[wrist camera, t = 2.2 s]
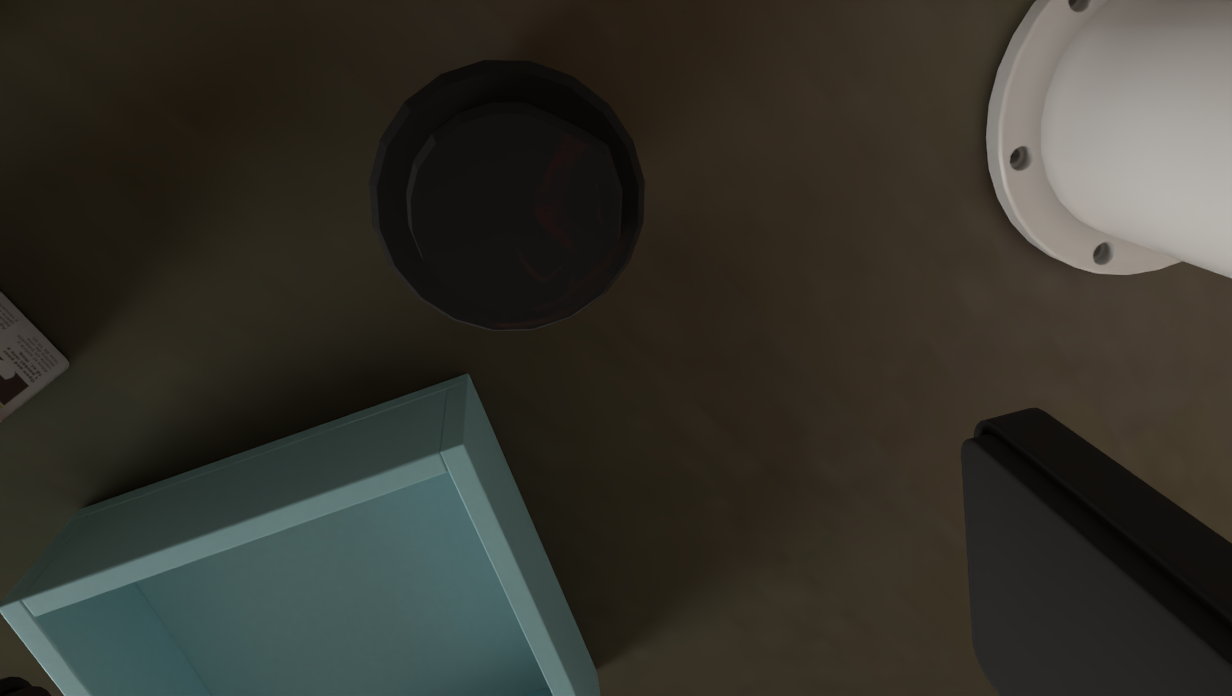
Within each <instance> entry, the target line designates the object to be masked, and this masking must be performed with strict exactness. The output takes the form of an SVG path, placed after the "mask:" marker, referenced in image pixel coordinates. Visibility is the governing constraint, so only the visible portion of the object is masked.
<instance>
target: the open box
mask: <svg viewBox="0 0 1232 696" xmlns="http://www.w3.org/2000/svg"><path fill="white" fill-rule="evenodd" d="M0 613H1V614H2V615H3V617H4V618H5V619H6V620H7V622H8V623H9V624H10V626H11V627H12V628H13V629H14V631H15V632H16V633H17V635H18V636H19V637H20V639H21V640H22V641H23V642H24V644H25V645H26V646H27V648H28V649H29V650H30V651H31V653H32V654H33V655H34V657H35V658H36V659H37V661H38V662H39V663H40V664H41V666H42V667H43V668H44V670H45V671H46V672H47V673H48V675H49V676H50V677H51V679H52V680H53V681H54V683H55V684H56V685H57V686H58V688H59V689H60V690H61V692H62V693H63V694H64V695H65V696H600V689H599V684H598V676H597V671H596V669H595V666H594V664H593V662H592V659H591V657H590V655H589V652H588V650H587V648H586V645H585V643H584V641H583V638H582V636H581V634H580V631H579V629H578V627H577V624H576V622H575V620H574V617H573V615H572V613H571V610H570V608H569V606H568V603H567V601H566V599H565V596H564V594H563V592H562V589H561V587H560V585H559V583H558V580H557V578H556V576H555V573H554V571H553V569H552V566H551V564H550V562H549V559H548V557H547V555H546V552H545V550H544V548H543V545H542V543H541V541H540V538H539V536H538V534H537V531H536V529H535V527H534V524H533V522H532V520H531V517H530V515H529V513H528V510H527V508H526V506H525V503H524V501H523V499H522V496H521V494H520V492H519V489H518V487H517V485H516V482H515V480H514V478H513V476H512V473H511V471H510V469H509V466H508V464H507V462H506V459H505V457H504V455H503V452H502V450H501V448H500V445H499V443H498V441H497V438H496V436H495V434H494V431H493V429H492V427H491V424H490V422H489V420H488V417H487V415H486V413H485V410H484V408H483V406H482V403H481V401H480V399H479V396H478V394H477V392H476V389H475V387H474V385H473V382H472V380H471V378H470V375H469V374H465V375H462V376H459V377H456V378H453V379H450V380H447V381H445V382H442V383H439V384H436V385H433V386H430V387H427V388H425V389H422V390H419V391H416V392H413V393H410V394H407V395H405V396H402V397H399V398H396V399H393V400H390V401H388V402H385V403H382V404H379V405H376V406H373V407H370V408H368V409H365V410H362V411H359V412H356V413H353V414H350V415H348V416H345V417H342V418H339V419H336V420H333V421H330V422H328V423H325V424H322V425H319V426H316V427H313V428H310V429H308V430H305V431H302V432H299V433H296V434H293V435H291V436H288V437H285V438H282V439H279V440H276V441H273V442H271V443H268V444H265V445H262V446H259V447H256V448H253V449H251V450H248V451H245V452H242V453H239V454H236V455H233V456H231V457H228V458H225V459H222V460H219V461H216V462H213V463H211V464H208V465H205V466H202V467H199V468H196V469H193V470H191V471H188V472H185V473H182V474H179V475H176V476H174V477H171V478H168V479H165V480H162V481H159V482H156V483H154V484H151V485H148V486H145V487H142V488H139V489H136V490H134V491H131V492H128V493H125V494H122V495H119V496H116V497H114V498H111V499H108V500H105V501H102V502H99V503H96V504H94V505H91V506H88V507H85V508H82V509H79V510H78V511H77V513H76V514H75V515H74V516H73V517H72V519H71V520H70V521H69V522H68V524H67V525H66V526H65V527H64V528H63V530H62V531H61V532H60V533H59V534H58V536H57V537H56V538H55V539H54V540H53V541H52V543H51V544H50V545H49V546H48V547H47V549H46V550H45V551H44V552H43V553H42V555H41V556H40V557H39V558H38V559H37V561H36V562H35V563H34V564H33V565H32V566H31V568H30V569H29V570H28V571H27V572H26V574H25V575H24V576H23V577H22V578H21V580H20V581H19V582H18V583H17V584H16V586H15V587H14V588H13V589H12V590H11V591H10V593H9V594H8V595H7V596H6V597H5V599H4V600H3V601H2V602H1V603H0Z"/></svg>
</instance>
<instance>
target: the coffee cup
mask: <svg viewBox="0 0 1232 696" xmlns="http://www.w3.org/2000/svg"><path fill="white" fill-rule="evenodd" d="M369 184H370V196H371V209H372V221H373V227H374V229H375V232H376V234H377V236H378V239H379V241H380V244H381V246H382V248H383V251H384V253H385V255H386V258H387V260H388V262H389V265H390V266H391V267H392V269H393V270H394V271H395V272H396V273H397V274H398V276H399V277H400V278H401V279H402V280H403V281H404V283H405V284H406V285H407V286H408V287H409V288H410V290H411V291H412V292H413V293H414V294H415V295H416V297H417V298H419V299H420V300H422V301H424V302H425V303H427V304H428V305H430V306H431V307H433V308H435V309H436V310H438V311H439V312H441V313H442V314H444V315H446V316H447V317H449V318H450V319H452V320H455V321H458V322H462V323H465V324H469V325H473V326H476V327H480V328H484V329H487V330H491V331H515V330H535V329H538V328H541V327H544V326H547V325H550V324H553V323H556V322H560V321H563V320H566V319H569V318H572V317H573V316H575V315H576V314H577V313H579V312H580V311H582V310H583V309H584V308H586V307H587V306H589V305H590V304H592V303H593V302H594V301H596V300H597V299H599V298H600V297H601V296H603V295H604V294H605V293H606V292H607V291H608V289H609V288H610V287H611V285H612V284H613V283H614V281H615V280H616V279H617V277H618V276H619V275H620V274H621V272H622V271H623V270H624V268H625V267H626V266H627V264H628V263H629V261H630V259H631V256H632V253H633V250H634V248H635V245H636V242H637V239H638V236H639V234H640V231H641V228H642V225H643V213H644V185H645V181H644V178H643V174H642V171H641V167H640V164H639V160H638V157H637V153H636V150H635V146H634V143H633V140H632V138H631V137H630V135H629V134H628V133H627V131H626V130H625V128H624V127H623V125H622V124H621V122H620V121H619V119H618V118H617V116H616V115H615V113H614V112H613V110H612V109H611V107H610V106H609V104H608V103H606V102H605V101H604V100H603V99H601V98H600V97H599V96H597V95H596V94H595V93H594V92H592V91H591V90H590V89H588V88H587V87H586V86H585V85H583V84H582V83H581V82H580V81H578V80H577V79H576V78H574V77H573V76H571V75H568V74H565V73H562V72H559V71H557V70H554V69H551V68H548V67H545V66H543V65H540V64H537V63H534V62H531V61H500V60H483V61H480V62H477V63H474V64H471V65H468V66H465V67H462V68H459V69H456V70H453V71H449V72H446V73H443V74H440V75H439V76H438V77H437V78H435V79H434V80H433V81H431V82H430V83H429V84H427V85H426V86H425V87H423V88H422V89H421V90H419V91H418V92H417V93H416V94H414V95H413V96H412V97H410V98H409V99H408V100H406V101H405V102H404V104H403V105H402V107H401V108H400V110H399V111H398V113H397V114H396V116H395V117H394V119H393V120H392V122H391V123H390V125H389V126H388V128H387V129H386V131H385V132H384V134H383V135H382V137H381V139H380V142H379V145H378V149H377V153H376V157H375V161H374V165H373V169H372V173H371V177H370V181H369Z"/></svg>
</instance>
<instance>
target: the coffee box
mask: <svg viewBox="0 0 1232 696" xmlns="http://www.w3.org/2000/svg"><path fill="white" fill-rule="evenodd" d="M68 367H69V362H68V360H67V359H66V358H65V357H64V356H63V355H62V354H61V353H60V352H59V351H58V350H57V349H56V348H55V347H54V346H53V345H52V344H51V343H50V341H49V340H48V339H47V338H46V337H45V336H44V335H43V334H42V333H41V332H40V331H39V330H38V329H37V328H36V327H35V326H34V325H33V324H32V323H31V322H30V321H29V320H28V319H27V318H26V317H25V316H24V315H23V314H22V313H21V312H20V311H19V310H18V309H17V308H16V307H15V306H14V305H13V304H12V303H11V302H10V301H9V300H8V298H7V297H6V296H5V295H4V294H3V293H2V292H1V291H0V423H1V422H2V421H3V420H5V419H6V418H7V417H8V416H10V415H11V414H12V413H13V412H14V411H16V410H17V409H18V408H19V407H21V406H22V405H23V404H24V403H26V402H27V401H28V400H29V399H30V398H32V397H33V396H34V395H35V394H37V393H38V392H39V391H41V390H42V389H43V388H44V387H46V386H47V385H48V384H49V383H51V382H52V381H53V380H54V379H55V378H57V377H58V376H59V375H60V374H62V373H63V372H64V371H66V370H67V369H68Z"/></svg>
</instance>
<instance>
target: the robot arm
mask: <svg viewBox="0 0 1232 696" xmlns="http://www.w3.org/2000/svg"><path fill="white" fill-rule="evenodd" d="M1068 1H1069V2H1068ZM986 145H987V156H988V166H989V172H990V175H991V178H992V182H993V185H994V189H995V192H996V195H997V198H998V200H999V202H1000V204H1001V205H1002V207H1003V209H1004V211H1005V213H1006V214H1007V216H1008V218H1009V220H1010V222H1011V223H1012V224H1013V225H1014V226H1015V227H1016V228H1017V230H1018V231H1019V232H1020V233H1021V234H1022V235H1023V236H1024V237H1025V238H1026V240H1027V241H1028V242H1030V243H1031V244H1032V245H1034V246H1035V247H1037V248H1038V249H1040V250H1041V251H1043V252H1044V253H1046V254H1047V255H1049V256H1050V257H1053V258H1055V259H1057V260H1060V261H1062V262H1064V263H1066V264H1069V265H1071V266H1073V267H1075V268H1079V269H1083V270H1086V271H1090V272H1093V273H1099V274H1120V275H1130V274H1136V273H1142V272H1149V271H1155V270H1159V269H1162V268H1164V267H1167V266H1170V265H1173V264H1176V263H1179V262H1182V261H1184V262H1187V263H1190V264H1193V265H1195V266H1198V267H1201V268H1204V269H1207V270H1209V271H1212V272H1215V273H1218V274H1221V275H1223V276H1226V277H1229V278H1232V0H1036V1H1035V2H1034V3H1033V5H1032V6H1031V8H1030V9H1029V11H1028V12H1027V14H1026V16H1025V17H1024V19H1023V20H1022V22H1021V23H1020V25H1019V27H1018V28H1017V30H1016V31H1015V33H1014V34H1013V36H1012V38H1011V41H1010V43H1009V45H1008V48H1007V50H1006V52H1005V54H1004V57H1003V59H1002V61H1001V64H1000V66H999V68H998V71H997V75H996V79H995V82H994V86H993V90H992V94H991V98H990V102H989V108H988V119H987V131H986ZM1012 153H1013V156H1012V158H1011V155H1012ZM1010 158H1011V159H1010ZM961 459H962V475H963V492H964V508H965V525H966V541H967V558H968V574H969V591H970V607H971V624H972V640H973V647H974V650H975V654H976V657H977V659H978V662H979V664H980V666H981V668H982V670H983V672H984V674H985V675H986V677H987V679H988V680H989V681H990V683H991V684H992V685H993V687H994V688H995V689H996V691H997V692H998V693H999V695H1000V696H1232V544H1231V543H1230V542H1229V541H1227V540H1226V539H1224V538H1223V537H1221V536H1220V535H1219V534H1217V533H1216V532H1214V531H1213V530H1212V529H1210V528H1209V527H1207V526H1206V525H1205V524H1203V523H1202V522H1200V521H1199V520H1197V519H1196V518H1195V517H1193V516H1192V515H1190V514H1189V513H1188V512H1186V511H1185V510H1183V509H1182V508H1180V507H1179V506H1178V505H1176V504H1175V503H1173V502H1172V501H1171V500H1169V499H1168V498H1166V497H1165V496H1164V495H1162V494H1161V493H1159V492H1158V491H1156V490H1155V489H1154V488H1152V487H1151V486H1149V485H1148V484H1147V483H1145V482H1144V481H1142V480H1141V479H1139V478H1138V477H1137V476H1135V475H1134V474H1132V473H1131V472H1130V471H1128V470H1127V469H1125V468H1124V467H1122V466H1121V465H1120V464H1118V463H1117V462H1115V461H1114V460H1113V459H1111V458H1110V457H1108V456H1107V455H1106V454H1104V453H1103V452H1101V451H1100V450H1098V449H1097V448H1096V447H1094V446H1093V445H1091V444H1090V443H1089V442H1087V441H1086V440H1084V439H1083V438H1081V437H1080V436H1079V435H1077V434H1076V433H1074V432H1073V431H1072V430H1070V429H1069V428H1067V427H1066V426H1065V425H1063V424H1062V423H1060V422H1059V421H1057V420H1056V419H1055V418H1053V417H1052V416H1050V415H1049V414H1048V413H1046V412H1045V411H1043V410H1040V409H1038V408H1029V409H1025V410H1021V411H1017V412H1013V413H1010V414H1006V415H1002V416H998V417H995V418H991V419H987V420H983V421H981V422H980V423H978V424H977V426H976V428H975V431H974V438H971V439H967V440H966V441H964V442H963V445H962V449H961ZM0 696H51V695H50V694H49V692H48V691H47V690H45V689H44V688H42V687H36V686H33V687H32V686H31V684H30V683H29V682H28V681H26V680H24V679H22V678H20V677H7V678H3V679H0Z"/></svg>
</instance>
